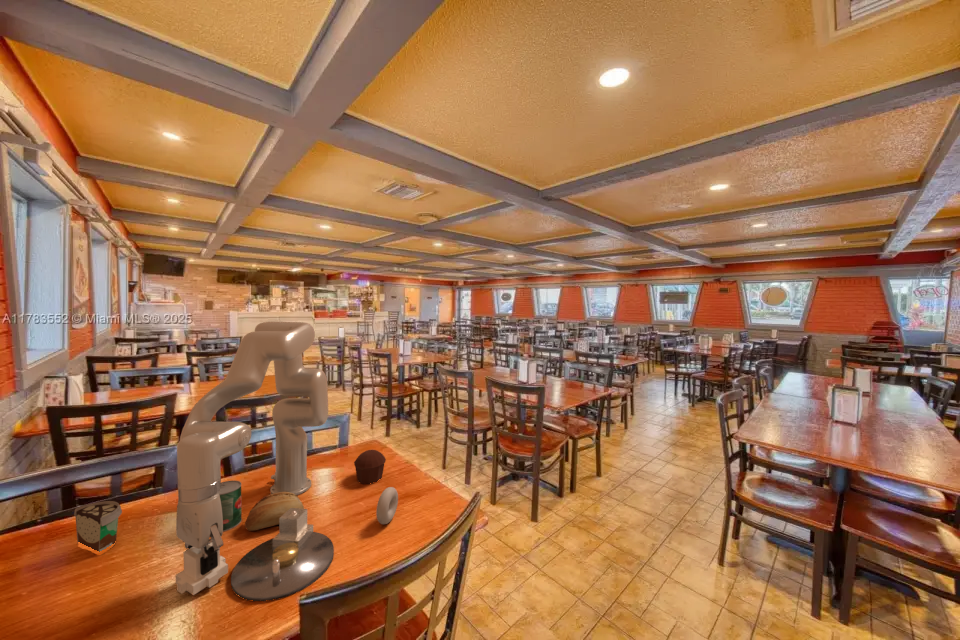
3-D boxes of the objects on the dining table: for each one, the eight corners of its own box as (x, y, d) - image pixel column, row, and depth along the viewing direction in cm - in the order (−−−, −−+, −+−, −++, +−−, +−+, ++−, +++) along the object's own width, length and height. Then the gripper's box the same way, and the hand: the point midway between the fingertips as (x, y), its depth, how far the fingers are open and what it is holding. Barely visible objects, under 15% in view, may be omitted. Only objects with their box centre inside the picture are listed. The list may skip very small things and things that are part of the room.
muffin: (379, 487, 125) (380, 459, 125) (348, 486, 125) (349, 458, 125) (389, 471, 137) (389, 446, 136) (360, 470, 137) (361, 445, 137)
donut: (384, 532, 100) (385, 498, 99) (373, 531, 100) (374, 496, 100) (399, 512, 110) (400, 481, 109) (389, 511, 110) (390, 480, 110)
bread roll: (243, 523, 103) (243, 496, 102) (300, 506, 112) (300, 482, 111) (246, 541, 95) (246, 512, 95) (306, 522, 104) (306, 495, 104)
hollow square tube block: (168, 584, 78) (167, 554, 78) (212, 558, 86) (211, 531, 86) (190, 599, 75) (190, 568, 74) (234, 571, 83) (233, 542, 82)
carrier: (209, 580, 81) (209, 542, 81) (294, 527, 101) (294, 496, 101) (272, 616, 72) (272, 574, 72) (352, 550, 92) (352, 517, 92)
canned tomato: (247, 520, 104) (247, 484, 104) (218, 536, 97) (218, 497, 96) (231, 513, 107) (231, 478, 107) (202, 527, 100) (201, 490, 100)
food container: (133, 542, 94) (133, 505, 93) (102, 557, 88) (101, 518, 87) (105, 531, 98) (105, 496, 97) (74, 545, 92) (73, 508, 92)
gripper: (159, 488, 79) (162, 565, 80) (203, 508, 72) (205, 592, 73) (197, 473, 86) (199, 544, 87) (240, 490, 79) (242, 567, 80)
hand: (202, 565), depth 80 cm, fingers closed on hollow square tube block, 4 cm apart
